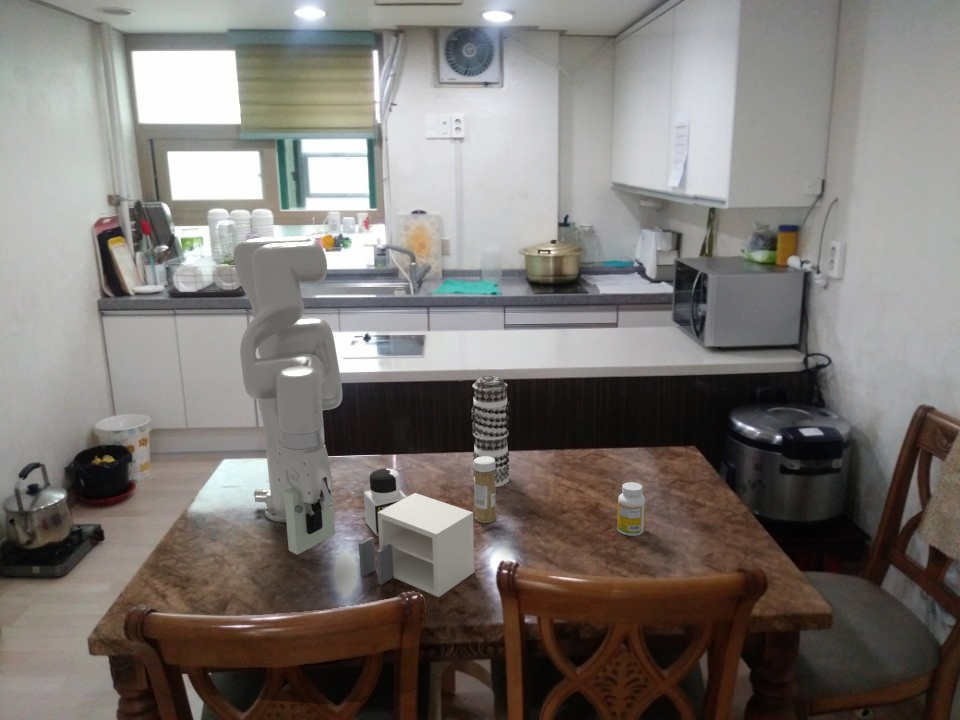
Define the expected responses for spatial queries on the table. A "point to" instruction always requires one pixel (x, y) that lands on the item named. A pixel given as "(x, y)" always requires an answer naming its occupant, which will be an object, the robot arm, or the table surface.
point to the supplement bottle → (631, 509)
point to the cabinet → (421, 544)
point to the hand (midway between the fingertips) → (309, 527)
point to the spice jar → (485, 489)
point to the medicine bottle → (381, 495)
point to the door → (297, 523)
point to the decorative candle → (491, 424)
